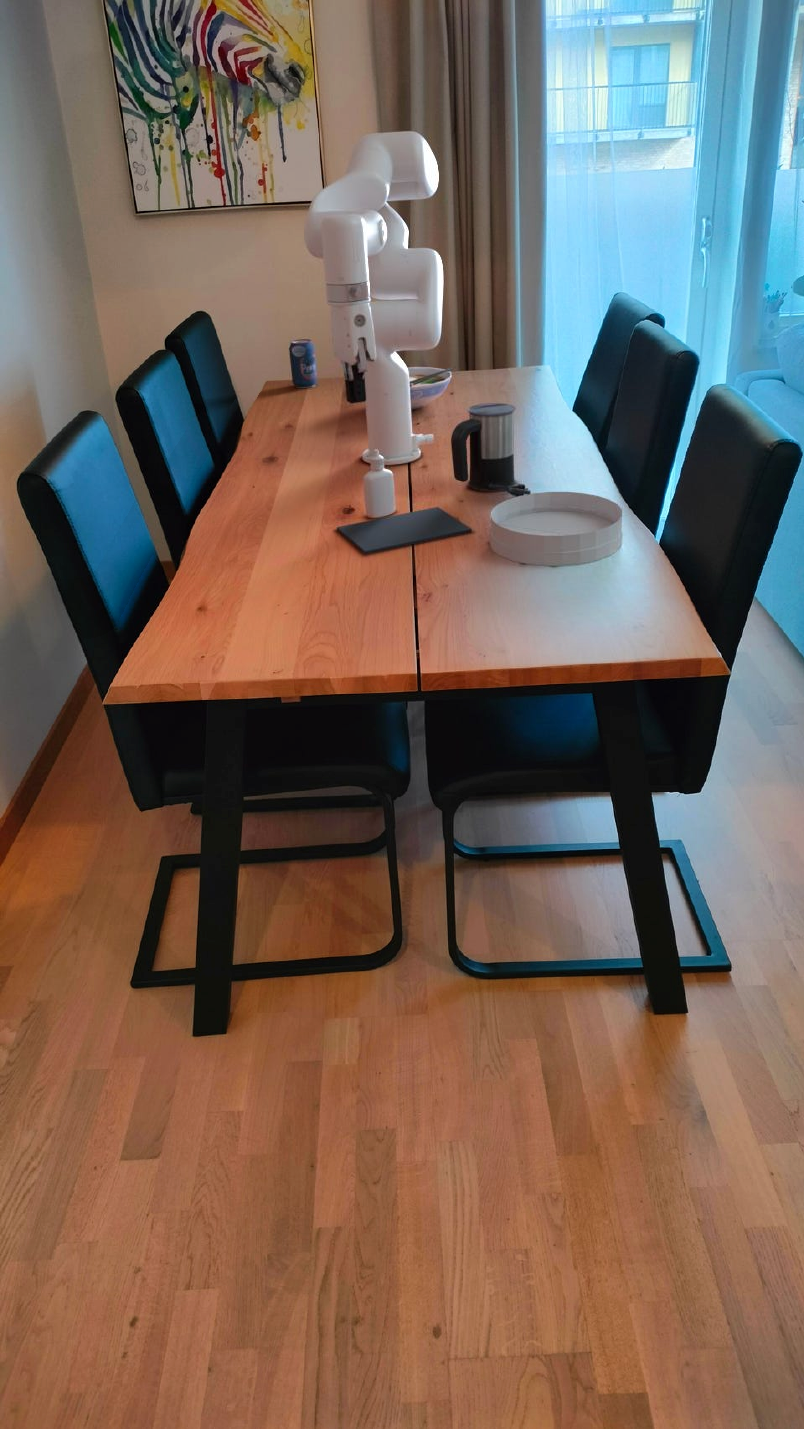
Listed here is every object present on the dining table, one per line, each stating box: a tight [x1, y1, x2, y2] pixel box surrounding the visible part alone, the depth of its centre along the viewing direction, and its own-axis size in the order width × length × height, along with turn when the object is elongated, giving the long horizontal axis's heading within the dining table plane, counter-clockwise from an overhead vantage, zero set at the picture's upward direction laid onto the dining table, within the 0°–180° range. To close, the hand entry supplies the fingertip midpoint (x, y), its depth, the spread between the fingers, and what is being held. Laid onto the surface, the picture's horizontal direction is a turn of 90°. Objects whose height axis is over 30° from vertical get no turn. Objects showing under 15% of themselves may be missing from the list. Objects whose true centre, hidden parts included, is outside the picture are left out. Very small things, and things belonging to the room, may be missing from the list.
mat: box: [336, 506, 473, 556], centre depth 182 cm, size 20×14×1 cm
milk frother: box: [450, 402, 531, 497], centre depth 195 cm, size 14×16×15 cm
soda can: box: [288, 338, 318, 389], centre depth 285 cm, size 7×7×12 cm
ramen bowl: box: [407, 366, 457, 411], centre depth 258 cm, size 25×23×8 cm
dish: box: [489, 491, 624, 567], centre depth 172 cm, size 22×22×5 cm
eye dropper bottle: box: [363, 450, 396, 519], centre depth 188 cm, size 4×6×12 cm
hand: (356, 401), depth 187 cm, fingers closed
